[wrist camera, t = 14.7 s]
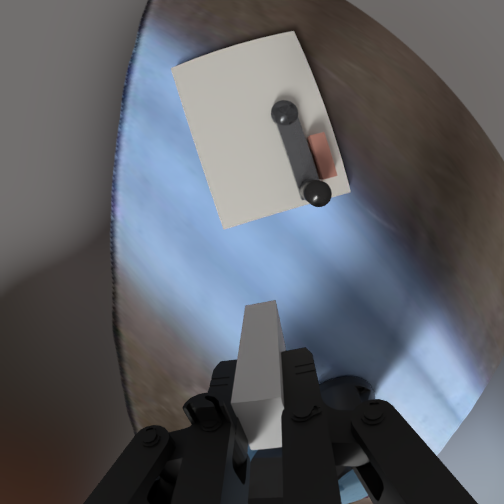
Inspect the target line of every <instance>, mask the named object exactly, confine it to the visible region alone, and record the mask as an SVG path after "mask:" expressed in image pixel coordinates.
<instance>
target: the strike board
mask: <svg viewBox="0 0 504 504" xmlns="http://www.w3.org/2000/svg"><path fill="white" fill-rule="evenodd" d="M171 70H172V74H173V77H174V80H175V83H176V87H177V90H178V93H179V96H180V99H181V102H182V106H183V109H184V112H185V115H186V118H187V121H188V124H189V127H190V131H191V134H192V137H193V140H194V143H195V146H196V149H197V152H198V155H199V158H200V161H201V164H202V167H203V170H204V173H205V176H206V179H207V182H208V185H209V188H210V191H211V194H212V197H213V200H214V203H215V206H216V209H217V212H218V215H219V217H220V220H221V223H222V226H223V229H227V228H231V227H234V226H237V225H240V224H243V223H247V222H250V221H253V220H256V219H260V218H263V217H266V216H270V215H273V214H276V213H280V212H283V211H286V210H290V209H293V208H297V207H300V206H303V205H307V204H310V203H309V202H307V201H306V200H301V198H300V195H299V192H298V188H297V185H296V182H295V179H294V176H293V173H292V170H291V167H290V164H289V161H288V158H287V155H286V152H285V149H284V146H283V143H282V140H281V137H280V134H279V131H278V129H277V126H276V124H275V123H274V122H273V120H272V118H271V109H272V107H273V105H274V104H275V103H276V102H278V101H281V100H287V101H290V102H292V103H293V104H295V106H296V107H297V109H298V118H299V121H300V124H301V127H302V129H303V132H304V135H305V138H306V141H307V144H308V147H309V150H310V153H311V156H312V159H313V162H314V165H315V168H316V172H317V175H318V178H319V181H323V182H325V183H327V184H328V185H329V187H330V188H331V192H332V196H331V197H335V196H339V195H342V194H346V193H349V192H351V191H350V187H349V183H348V180H347V176H346V172H345V169H344V165H343V162H342V158H341V155H340V152H339V148H338V145H337V142H336V139H335V136H334V132H333V129H332V126H331V123H330V120H329V117H328V114H327V112H326V109H325V106H324V103H323V100H322V98H321V95H320V92H319V90H318V87H317V84H316V82H315V79H314V77H313V74H312V72H311V69H310V67H309V64H308V62H307V60H306V57H305V55H304V53H303V50H302V48H301V46H300V43H299V41H298V39H297V37H296V35H295V33H294V31H291V32H286V33H281V34H276V35H272V36H267V37H263V38H259V39H255V40H252V41H248V42H244V43H241V44H237V45H234V46H231V47H227V48H224V49H221V50H218V51H215V52H212V53H209V54H206V55H204V56H201V57H198V58H195V59H193V60H190V61H188V62H185V63H183V64H180V65H178V66H175V67H173V68H171Z"/></svg>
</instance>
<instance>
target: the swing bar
mask: <svg viewBox="0 0 504 504" xmlns="http://www.w3.org/2000/svg"><path fill="white" fill-rule="evenodd" d="M271 118H272V120H273V122H274V123H275V124H276V126H277V129H278V131H279V134H280V137H281V140H282V143H283V146H284V149H285V152H286V155H287V158H288V161H289V164H290V167H291V170H292V173H293V176H294V179H295V182H296V185H297V188H298V192H299V195H300V198H301V200H306V201H307V202H309V203H310V204H311V205H313V206H316V207H322V206H325V205H326V204H328V202H329V201H330V199H331V196H332V192H331V188H330V187H329V185H328V184H327V183H325V182H323V181H319V178H318V175H317V172H316V168H315V165H314V162H313V159H312V156H311V153H310V150H309V147H308V144H307V141H306V138H305V135H304V132H303V129H302V127H301V124H300V121H299V118H298V109H297V107H296V106H295V104H293V103H292V102H290V101H287V100H281V101H278V102H276V103H275V104H274V105H273V107H272V109H271Z"/></svg>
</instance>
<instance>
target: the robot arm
mask: <svg viewBox="0 0 504 504" xmlns="http://www.w3.org/2000/svg"><path fill="white" fill-rule="evenodd" d="M211 379H212V380H211V382H210V387H209V390H208V393H202V394H198V395H196V396H194V397H192V398H190V399H189V400H188V401H187V402H186V403H185V404H184V406H183V410H184V412H185V414H186V415H187V417H188V419H189V421H190V422H191V424H192V425H191V426H190V427H188V428H185V429H181V430H177V431H173V432H168V431H167V430H166V429H165V428H164V427H162V426H157V425H152V426H148V427H145V428H143V429H141V430H140V431H139V432H138V433H137V434H136V435H135V436H134V438H133V439H132V440H131V442H130V443H129V444H128V446H127V447H126V448H125V450H124V451H123V453H122V454H121V455H120V456H119V458H118V459H117V460H116V462H115V463H114V464H113V466H112V467H111V468H110V470H109V471H108V472H107V473H106V475H105V476H104V477H103V479H102V480H101V481H100V483H99V484H98V485H97V487H96V488H95V489H94V490H93V492H92V493H91V494H90V496H89V497H88V498H87V500H86V501H85V502H84V504H347V503H351V502H354V501H357V500H360V499H362V498H364V497H366V496H369V497H370V499H371V501H372V502H373V504H478V503H477V502H476V501H475V500H474V499H473V498H472V496H471V495H470V494H469V493H468V492H467V491H466V489H465V488H464V487H463V486H462V485H461V484H460V483H459V481H458V480H457V479H456V478H455V477H454V476H453V475H452V473H451V472H450V471H449V470H448V469H447V467H446V466H445V465H444V464H443V463H442V462H441V461H440V459H439V458H438V457H437V456H436V455H435V454H434V452H433V451H432V450H431V449H430V448H429V447H428V446H427V444H426V443H425V442H424V441H423V440H422V439H421V438H420V436H419V435H418V434H417V433H416V432H415V431H414V429H413V428H412V427H411V426H410V425H409V424H408V423H407V421H406V420H405V419H404V418H403V417H402V416H401V415H400V413H399V412H398V411H397V410H396V409H395V408H394V407H393V405H391V404H390V403H388V402H387V401H384V400H380V399H375V394H374V392H373V389H372V387H371V385H370V384H369V383H368V382H367V381H366V380H364V379H362V378H359V377H352V376H346V377H339V378H335V379H331V380H328V381H326V382H324V383H322V384H320V385H319V383H318V378H317V374H316V369H315V364H314V360H313V355H312V353H311V352H310V351H309V350H308V349H307V348H306V347H305V348H299V349H294V350H289V351H286V349H285V342H284V337H283V333H282V328H281V323H280V318H279V314H278V309H277V304H276V300H274V301H268V302H263V303H257V304H252V305H246V306H245V312H244V318H243V325H242V332H241V338H240V345H239V352H238V358H237V360H229V361H221V362H220V363H219V364H218V365H217V366H216V367H215V369H214V370H213V374H212V378H211Z"/></svg>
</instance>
